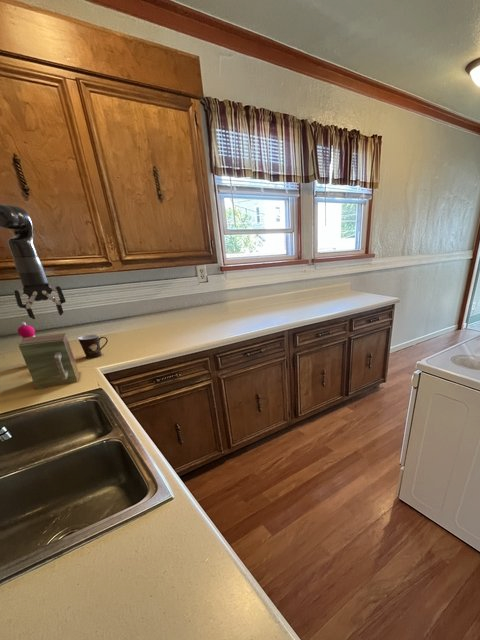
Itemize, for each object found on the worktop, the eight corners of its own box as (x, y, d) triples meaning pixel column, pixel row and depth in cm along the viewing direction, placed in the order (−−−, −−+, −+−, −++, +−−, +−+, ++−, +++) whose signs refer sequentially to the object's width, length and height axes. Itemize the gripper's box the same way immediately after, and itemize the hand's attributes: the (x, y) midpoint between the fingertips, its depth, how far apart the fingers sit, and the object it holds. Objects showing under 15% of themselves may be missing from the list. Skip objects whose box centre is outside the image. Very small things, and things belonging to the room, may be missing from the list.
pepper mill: (47, 360, 157) (31, 319, 148) (50, 364, 153) (34, 322, 144) (28, 364, 153) (11, 322, 144) (31, 368, 148) (13, 324, 139)
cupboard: (78, 381, 135) (63, 339, 127) (37, 388, 129) (19, 344, 121) (79, 373, 143) (65, 333, 135) (40, 379, 137) (23, 337, 129)
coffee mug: (83, 360, 158) (76, 340, 153) (85, 355, 165) (79, 335, 160) (109, 357, 162) (104, 337, 157) (111, 352, 169) (106, 333, 164)
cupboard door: (77, 388, 129) (61, 344, 121) (33, 395, 123) (14, 350, 115) (78, 381, 135) (63, 339, 127) (36, 388, 129) (19, 345, 121)
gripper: (52, 268, 121) (66, 312, 129) (3, 271, 112) (22, 318, 120) (57, 269, 117) (71, 315, 124) (6, 273, 108) (25, 321, 115)
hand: (47, 316), depth 122 cm, fingers open, 8 cm apart
